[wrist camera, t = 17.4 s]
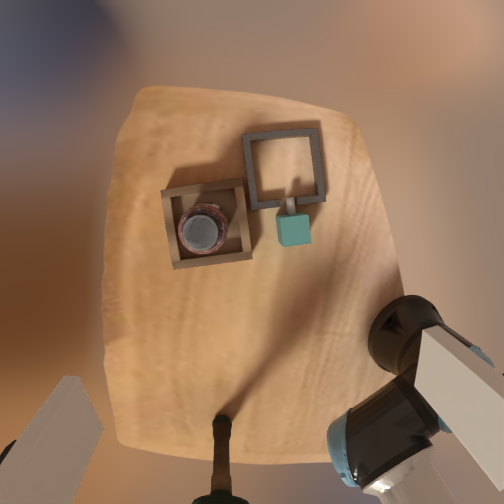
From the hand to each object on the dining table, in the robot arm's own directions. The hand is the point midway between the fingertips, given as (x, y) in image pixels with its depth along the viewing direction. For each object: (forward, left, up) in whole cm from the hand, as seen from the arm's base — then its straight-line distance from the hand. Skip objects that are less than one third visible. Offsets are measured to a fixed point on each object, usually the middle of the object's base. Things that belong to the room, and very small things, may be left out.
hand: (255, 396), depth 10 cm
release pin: (+1, -8, -37) cm, 37 cm away
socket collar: (+9, -8, -37) cm, 39 cm away
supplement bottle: (+3, +4, -36) cm, 36 cm away
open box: (+3, +4, -37) cm, 37 cm away
